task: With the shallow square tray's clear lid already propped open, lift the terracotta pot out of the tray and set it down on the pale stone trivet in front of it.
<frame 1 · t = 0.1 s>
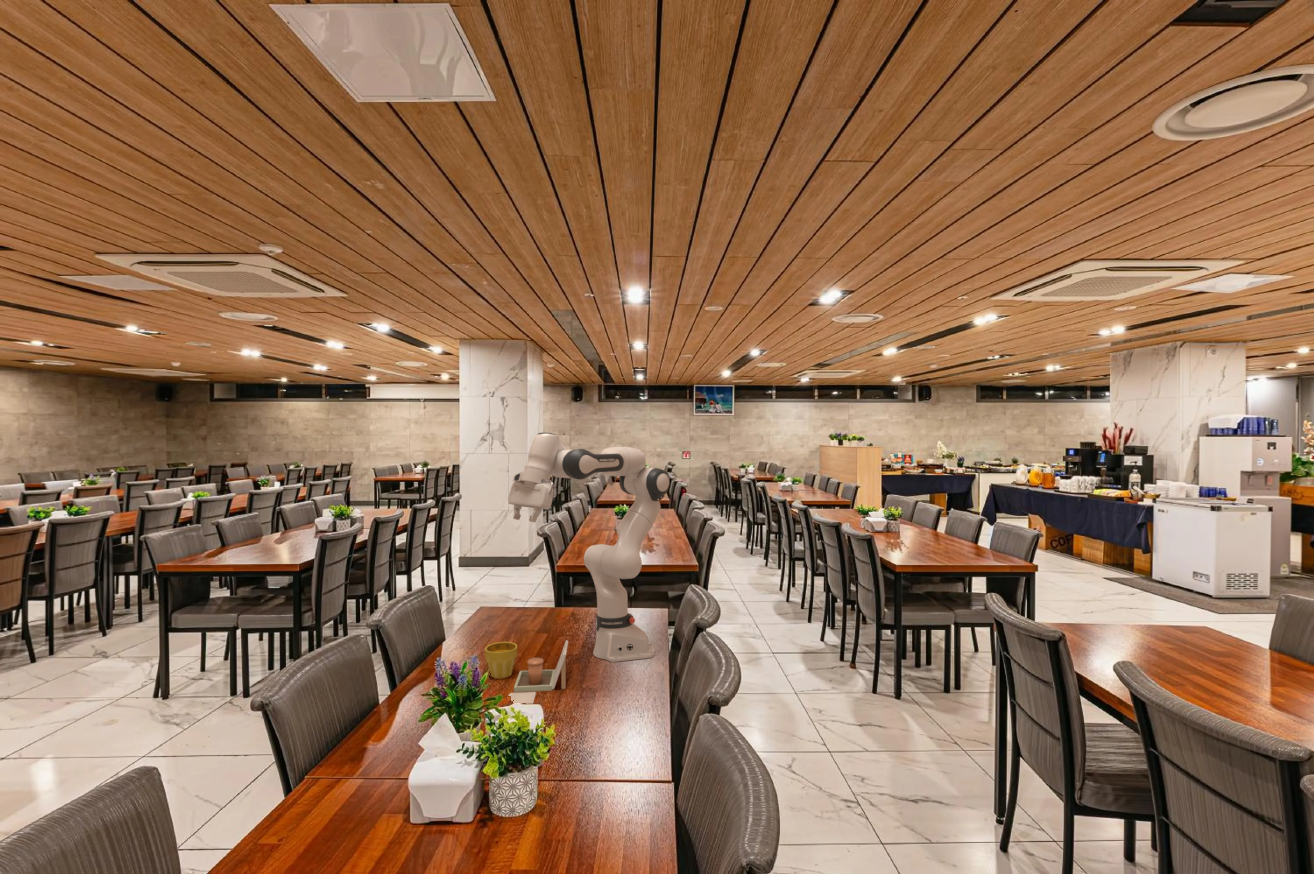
hand: (524, 520, 196), 52 cm above the table, tool tilted 20°, fingers open, 8 cm apart
terracotta pot: (535, 682, 194), point 1 cm above the table, touching shallow square tray
plant pot: (501, 676, 200), on the table
propped lid: (553, 683, 194), on the table
shallow square tray: (535, 684, 194), on the table
stone trivet: (520, 700, 181), on the table
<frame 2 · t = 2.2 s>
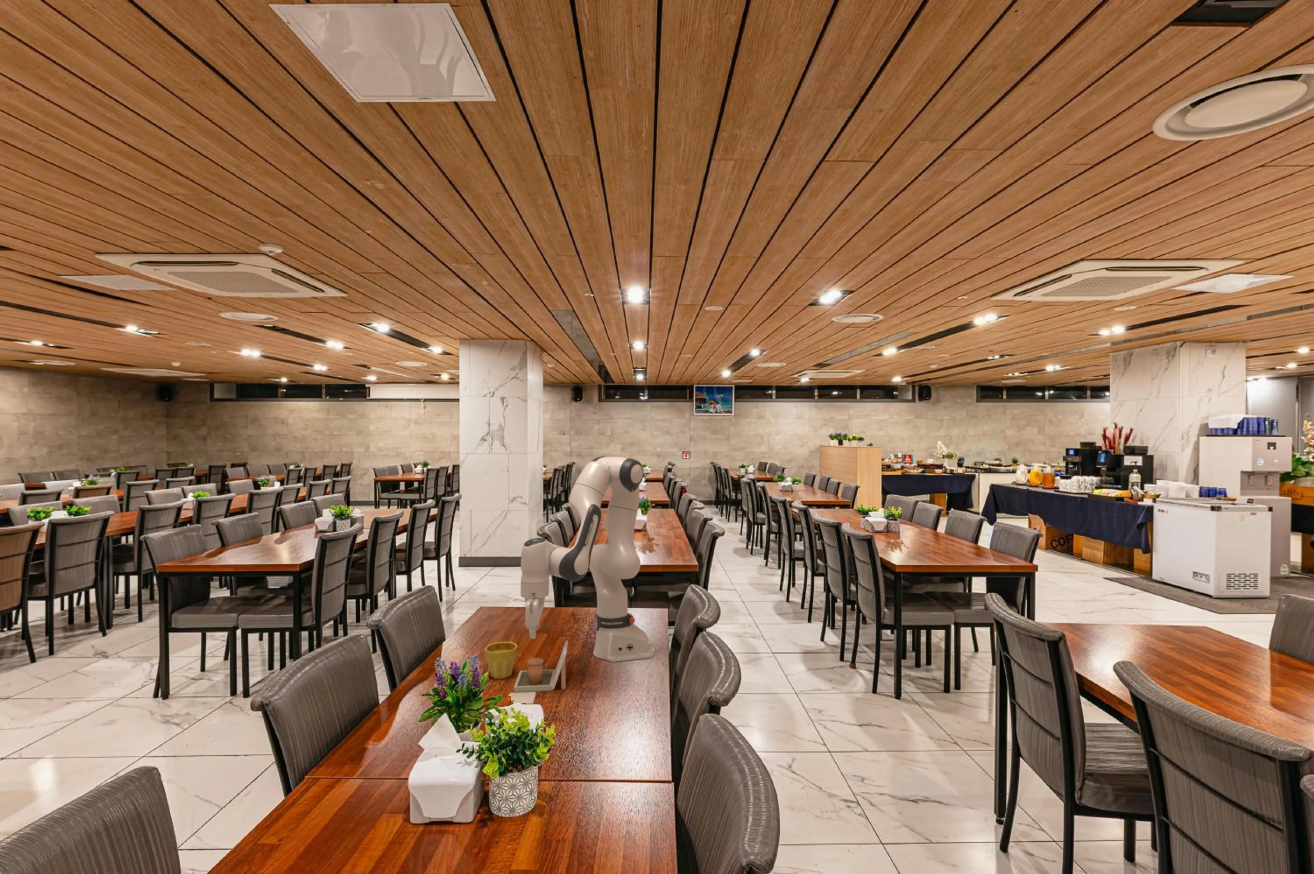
hand: (534, 633, 193), 16 cm above the table, tool pointing down, fingers open, 8 cm apart
nothing on the table moved.
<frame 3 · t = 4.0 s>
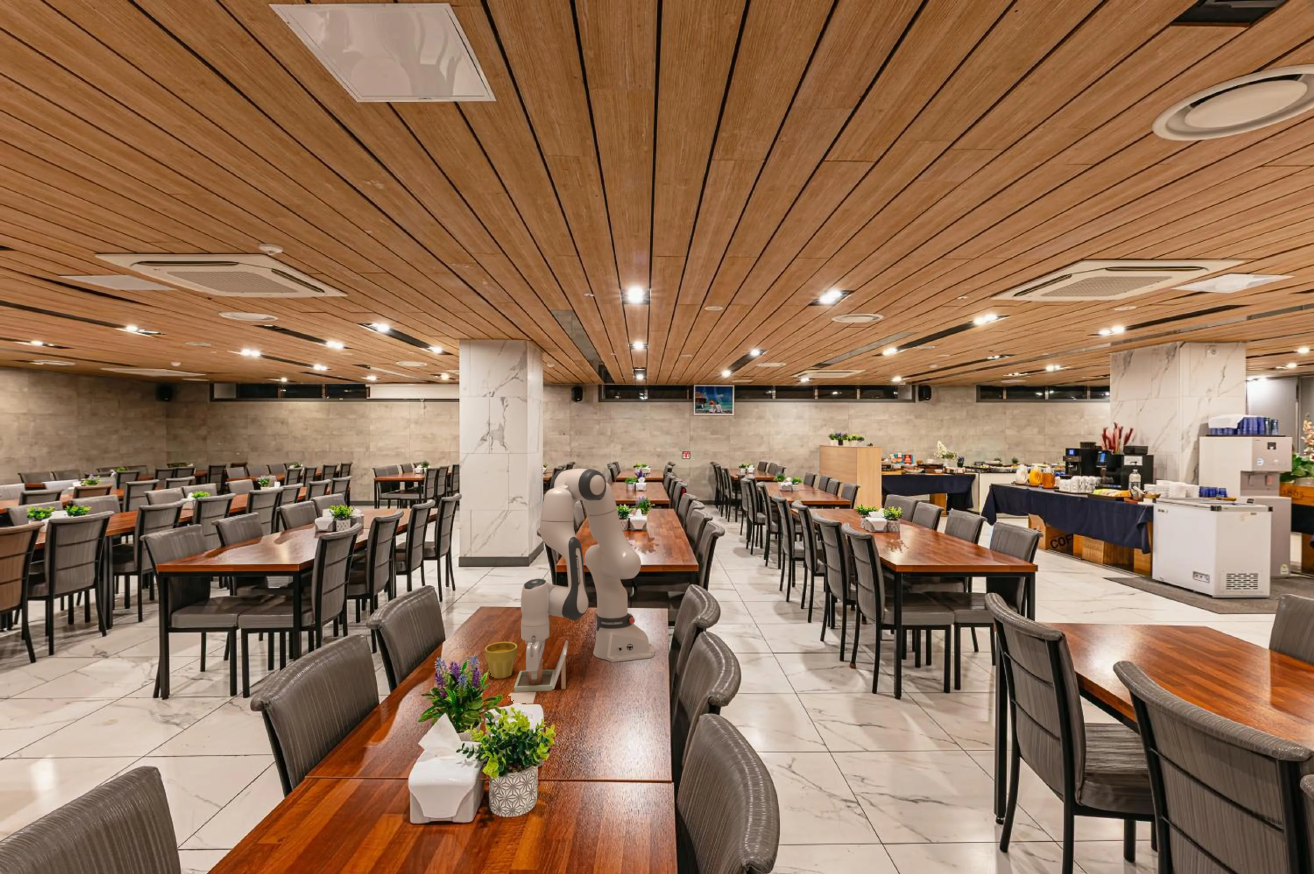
hand: (535, 675, 194), 3 cm above the table, tool pointing down, fingers closed on terracotta pot, 4 cm apart
terracotta pot: (535, 682, 194), point 1 cm above the table, touching shallow square tray, gripper
everything else where it was.
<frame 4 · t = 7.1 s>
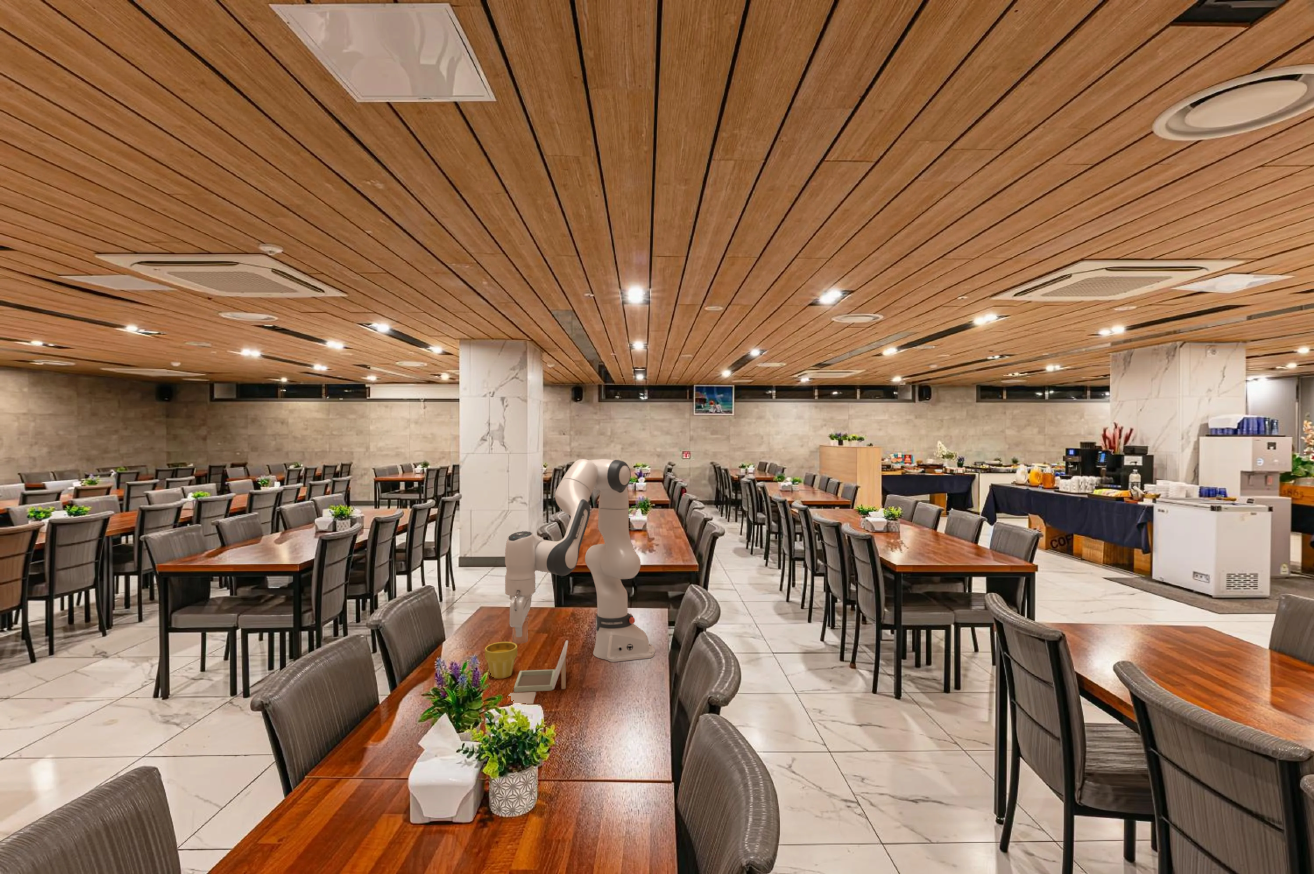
hand: (520, 633, 182), 20 cm above the table, tool pointing down, fingers closed on terracotta pot, 4 cm apart
terracotta pot: (520, 640, 182), point 18 cm above the table, touching gripper
everything else where it was.
when the fingers open (4 cm above the table, at t = 9.7 s): terracotta pot stays where it is, resting on stone trivet.
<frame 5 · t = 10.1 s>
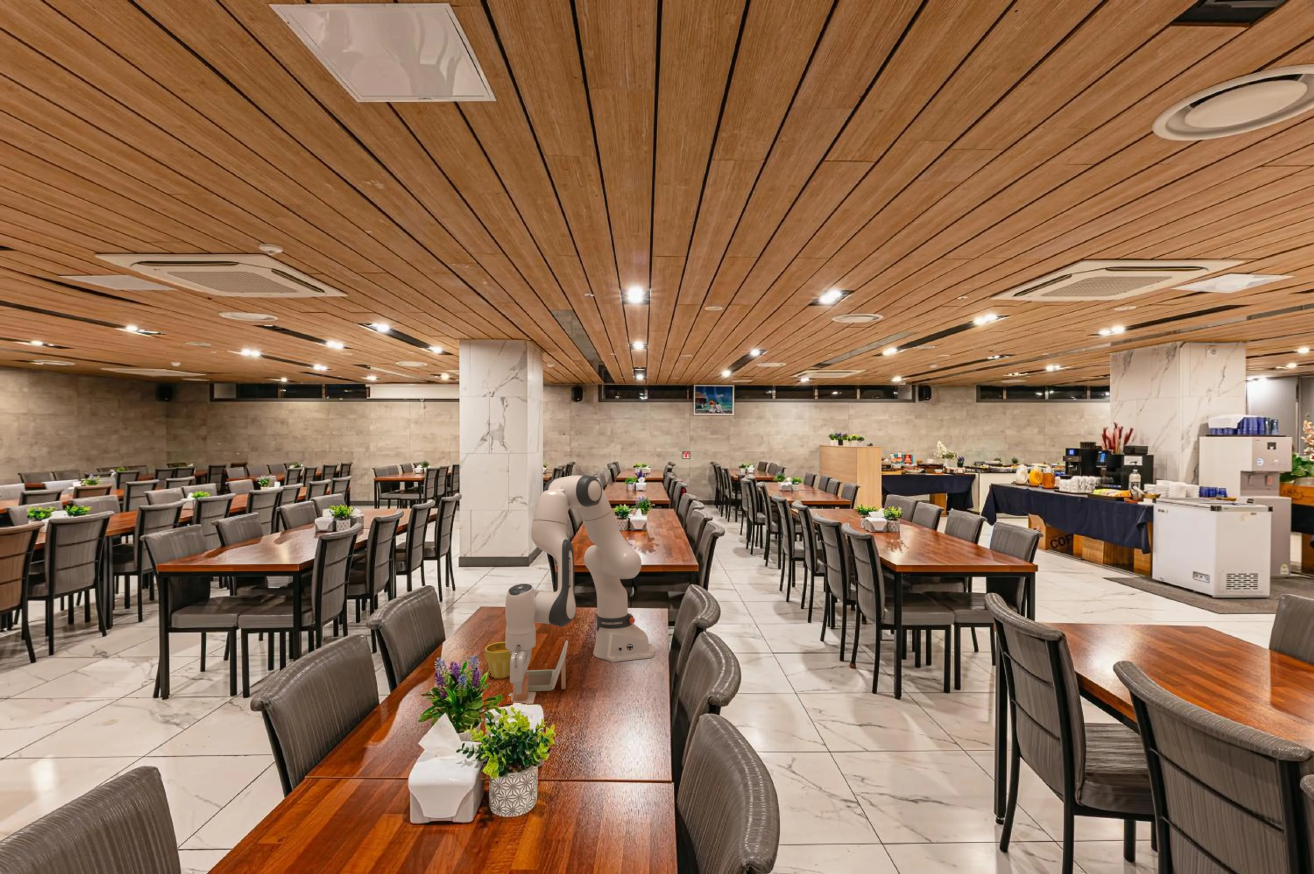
hand: (520, 686, 181), 4 cm above the table, tool pointing down, fingers open, 8 cm apart
terracotta pot: (520, 697, 181), point 1 cm above the table, touching stone trivet
everything else where it was.
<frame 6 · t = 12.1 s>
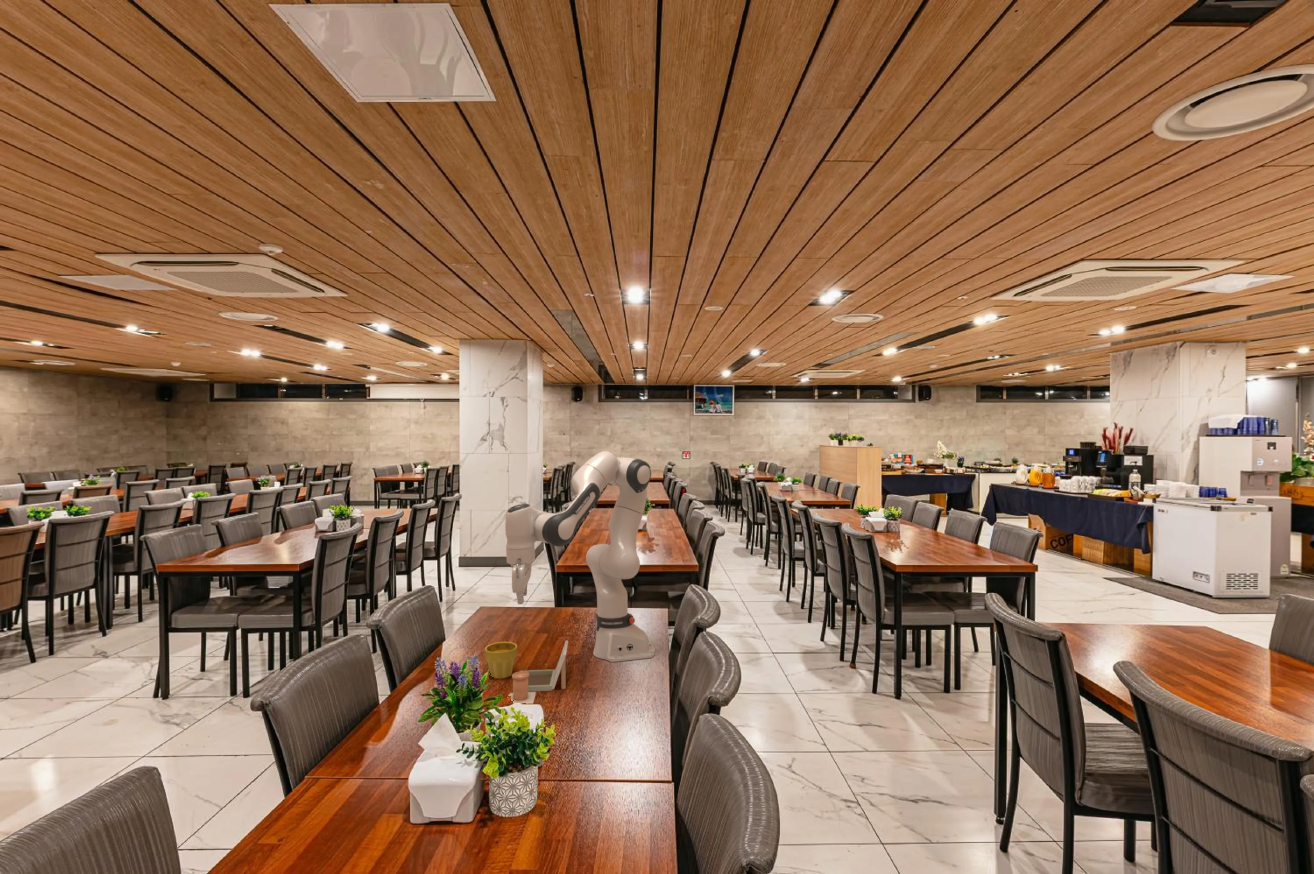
hand: (522, 599, 193), 27 cm above the table, tool pointing down, fingers open, 8 cm apart
nothing on the table moved.
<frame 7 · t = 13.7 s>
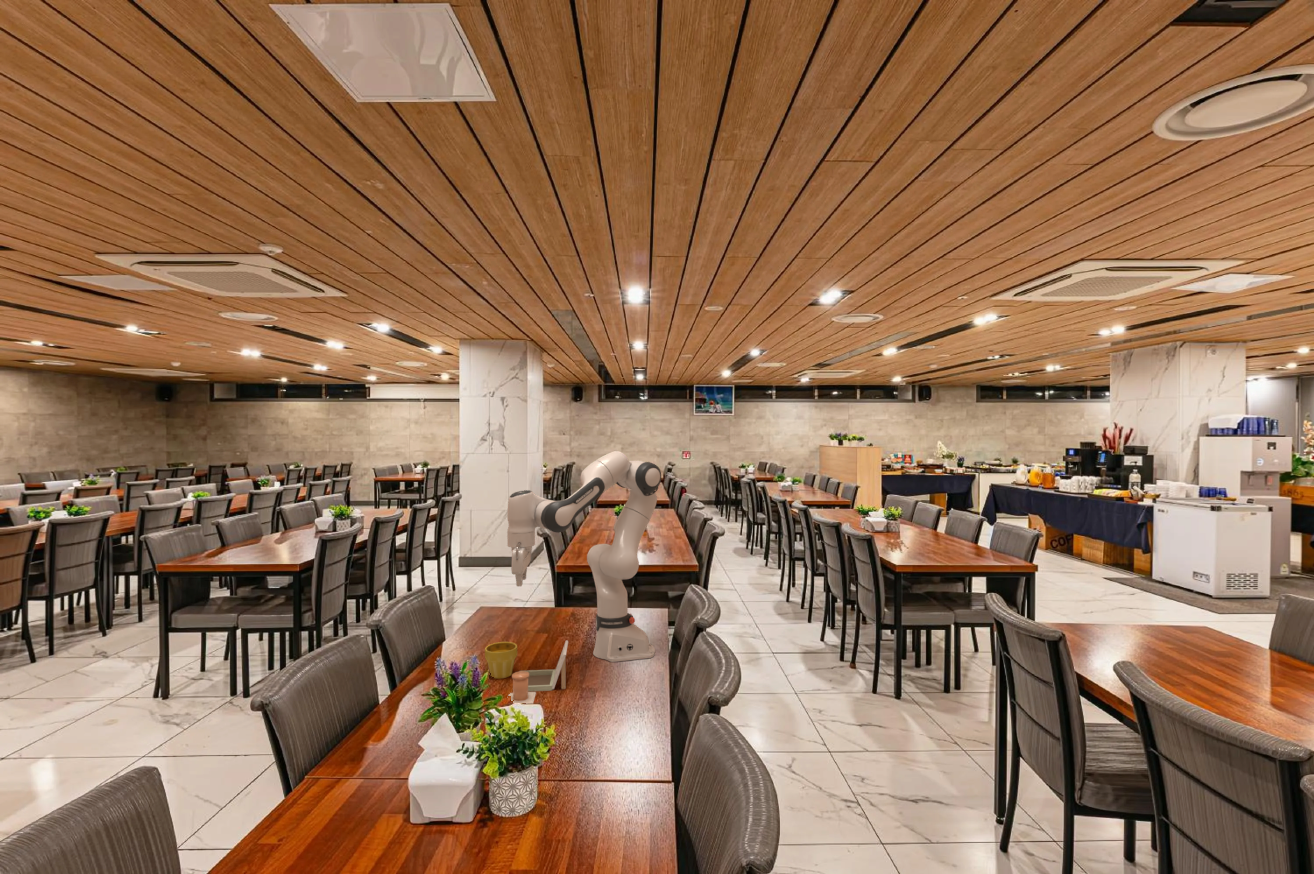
hand: (521, 582, 199), 31 cm above the table, tool pointing down, fingers open, 8 cm apart
nothing on the table moved.
at the end: terracotta pot inside the target area on the stone trivet (0.1 cm from its centre), point 0.8 cm above the stone trivet's base; terracotta pot tilted 0°; terracotta pot touching stone trivet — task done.
